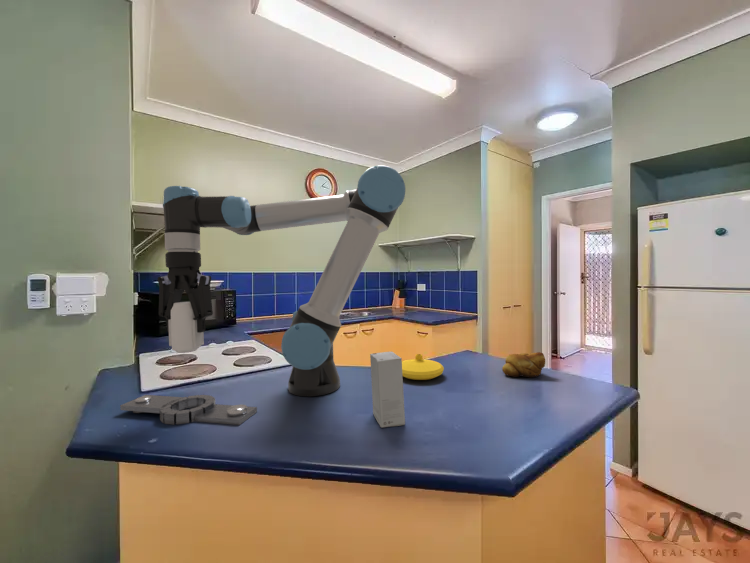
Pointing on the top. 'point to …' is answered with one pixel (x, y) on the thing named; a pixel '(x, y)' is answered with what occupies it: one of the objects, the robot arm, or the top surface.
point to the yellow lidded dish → (421, 368)
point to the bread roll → (524, 364)
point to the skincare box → (387, 389)
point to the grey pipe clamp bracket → (202, 412)
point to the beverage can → (182, 327)
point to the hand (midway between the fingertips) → (186, 345)
